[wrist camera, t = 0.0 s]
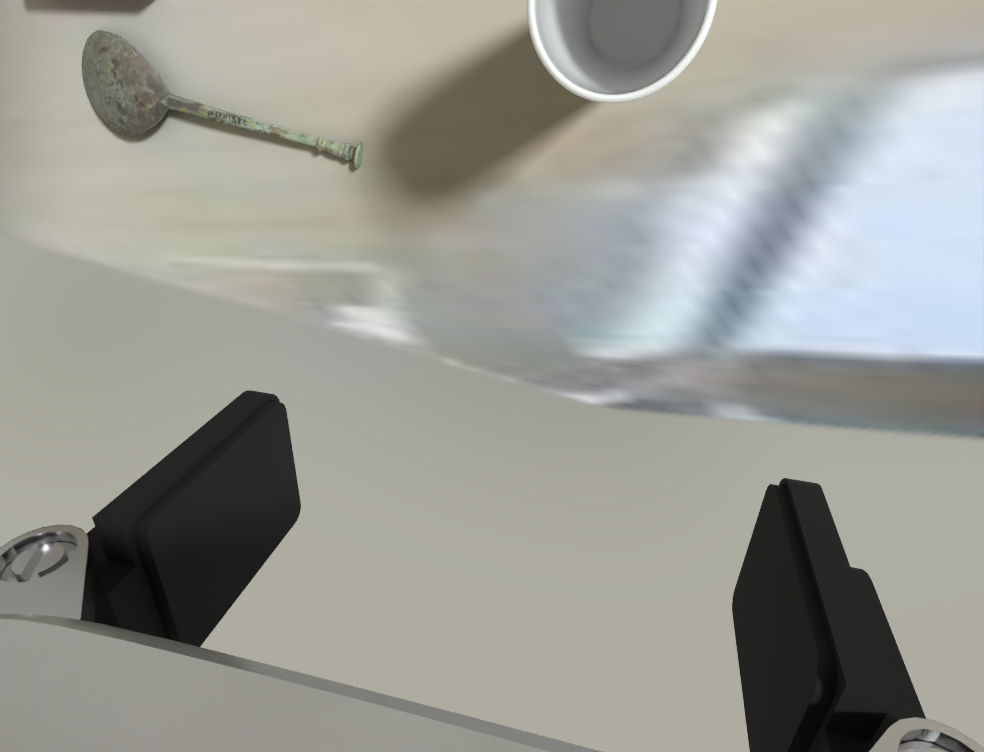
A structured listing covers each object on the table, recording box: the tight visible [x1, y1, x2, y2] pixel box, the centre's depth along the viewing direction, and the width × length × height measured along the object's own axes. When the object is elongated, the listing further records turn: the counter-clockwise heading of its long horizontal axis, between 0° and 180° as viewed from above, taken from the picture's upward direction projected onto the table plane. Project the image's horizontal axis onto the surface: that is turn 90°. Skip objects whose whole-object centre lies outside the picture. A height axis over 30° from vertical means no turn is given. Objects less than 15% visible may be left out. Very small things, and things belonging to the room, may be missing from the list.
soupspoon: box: [82, 30, 363, 169], centre depth 42 cm, size 22×3×7 cm
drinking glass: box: [527, 0, 717, 103], centre depth 28 cm, size 7×7×15 cm
